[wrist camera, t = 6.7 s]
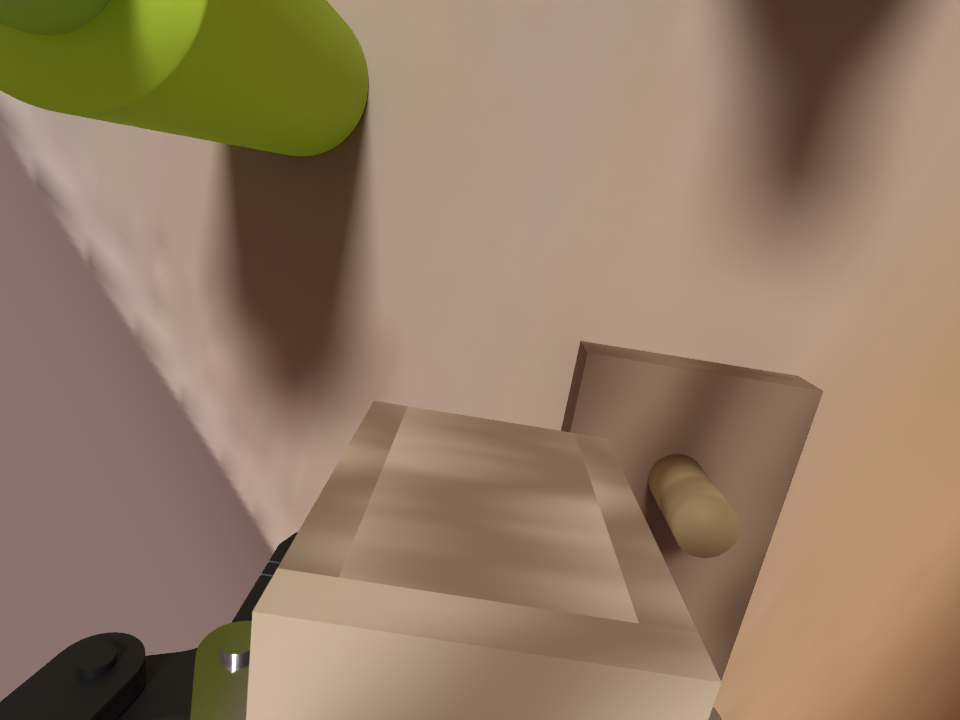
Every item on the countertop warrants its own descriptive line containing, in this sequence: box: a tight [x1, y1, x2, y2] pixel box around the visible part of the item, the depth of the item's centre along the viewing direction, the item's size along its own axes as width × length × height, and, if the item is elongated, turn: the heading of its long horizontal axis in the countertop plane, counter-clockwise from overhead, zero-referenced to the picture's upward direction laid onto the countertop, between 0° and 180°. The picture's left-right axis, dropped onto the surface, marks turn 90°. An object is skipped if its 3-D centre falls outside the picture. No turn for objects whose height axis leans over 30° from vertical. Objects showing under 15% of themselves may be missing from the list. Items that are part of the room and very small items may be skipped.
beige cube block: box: [246, 401, 722, 720], centre depth 11 cm, size 6×7×7 cm
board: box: [561, 341, 823, 680], centre depth 26 cm, size 10×24×6 cm, turn 171°
